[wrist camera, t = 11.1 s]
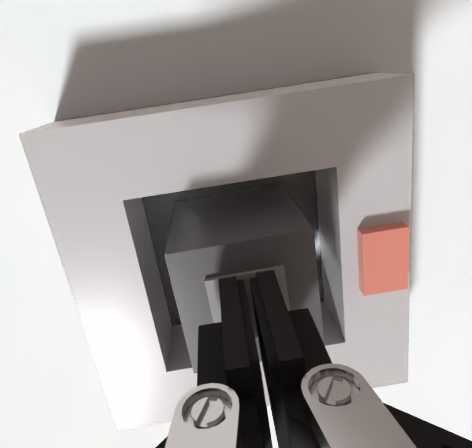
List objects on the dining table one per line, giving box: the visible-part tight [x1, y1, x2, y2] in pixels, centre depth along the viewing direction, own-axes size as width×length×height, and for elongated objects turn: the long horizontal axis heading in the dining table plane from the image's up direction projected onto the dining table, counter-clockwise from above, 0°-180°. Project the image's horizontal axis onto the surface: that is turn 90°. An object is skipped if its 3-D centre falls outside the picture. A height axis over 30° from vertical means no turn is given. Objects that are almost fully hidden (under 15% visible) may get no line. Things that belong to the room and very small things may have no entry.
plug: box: [164, 183, 325, 374], centre depth 15 cm, size 4×4×5 cm
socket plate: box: [19, 73, 414, 430], centre depth 16 cm, size 12×12×4 cm
